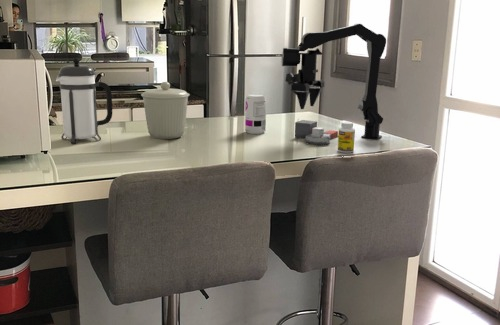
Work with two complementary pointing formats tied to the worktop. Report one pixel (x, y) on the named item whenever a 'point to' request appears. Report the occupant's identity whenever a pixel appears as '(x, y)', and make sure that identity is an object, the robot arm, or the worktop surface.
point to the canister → (165, 111)
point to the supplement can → (255, 114)
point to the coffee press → (81, 102)
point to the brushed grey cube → (304, 128)
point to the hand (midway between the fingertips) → (307, 107)
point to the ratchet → (320, 136)
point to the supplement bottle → (346, 137)
